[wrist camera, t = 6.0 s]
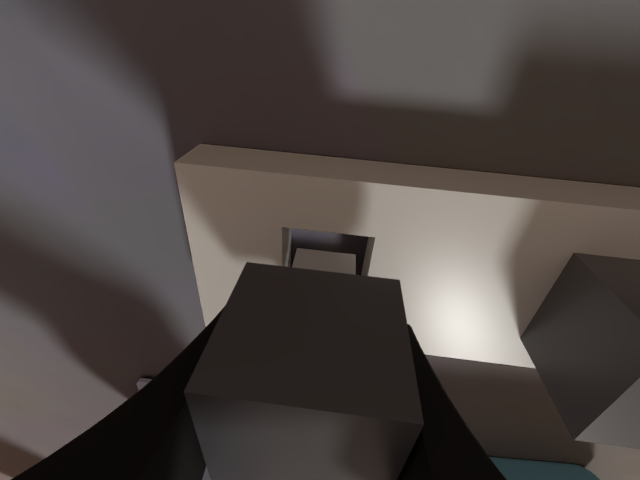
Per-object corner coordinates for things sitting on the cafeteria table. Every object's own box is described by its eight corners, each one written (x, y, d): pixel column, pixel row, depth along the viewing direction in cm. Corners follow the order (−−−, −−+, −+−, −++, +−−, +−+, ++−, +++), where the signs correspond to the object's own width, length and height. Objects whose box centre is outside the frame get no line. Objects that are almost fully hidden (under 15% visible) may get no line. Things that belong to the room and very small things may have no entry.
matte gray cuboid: (268, 312, 15) (212, 486, 9) (265, 223, 12) (183, 391, 7) (372, 325, 15) (381, 512, 9) (392, 237, 12) (423, 424, 6)
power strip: (221, 295, 19) (161, 410, 13) (200, 143, 14) (88, 222, 8) (717, 355, 18) (892, 513, 12) (890, 212, 13) (1340, 363, 7)
